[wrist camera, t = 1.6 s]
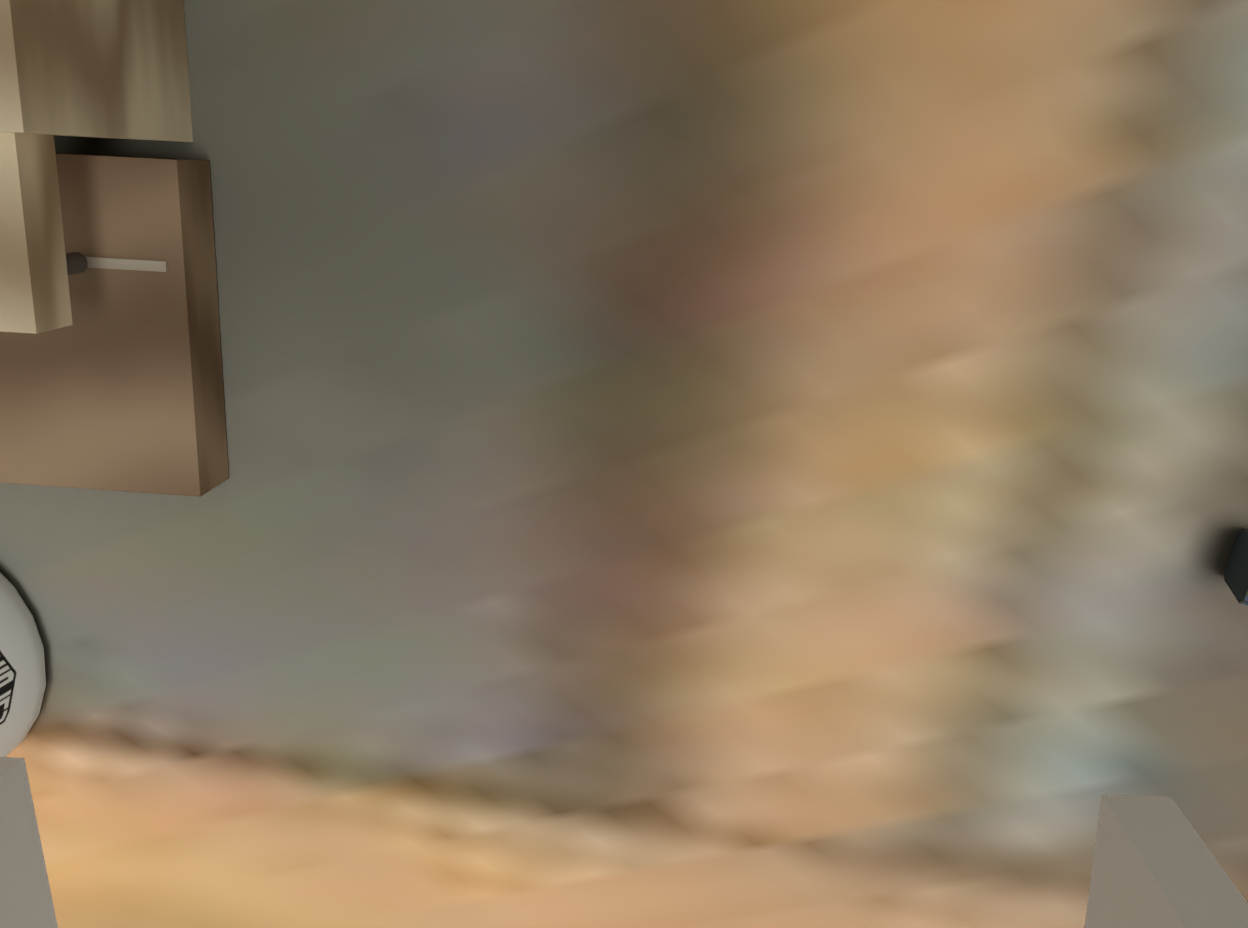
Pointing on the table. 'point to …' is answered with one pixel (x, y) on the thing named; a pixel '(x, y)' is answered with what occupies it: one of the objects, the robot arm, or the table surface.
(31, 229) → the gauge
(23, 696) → the mug
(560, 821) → the table surface
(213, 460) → the board
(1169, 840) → the robot arm
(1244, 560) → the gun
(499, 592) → the table surface
